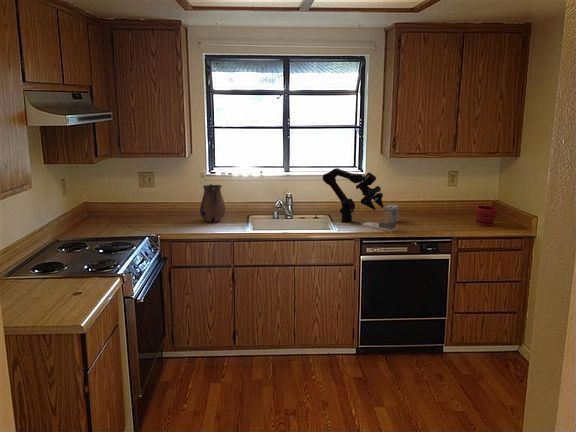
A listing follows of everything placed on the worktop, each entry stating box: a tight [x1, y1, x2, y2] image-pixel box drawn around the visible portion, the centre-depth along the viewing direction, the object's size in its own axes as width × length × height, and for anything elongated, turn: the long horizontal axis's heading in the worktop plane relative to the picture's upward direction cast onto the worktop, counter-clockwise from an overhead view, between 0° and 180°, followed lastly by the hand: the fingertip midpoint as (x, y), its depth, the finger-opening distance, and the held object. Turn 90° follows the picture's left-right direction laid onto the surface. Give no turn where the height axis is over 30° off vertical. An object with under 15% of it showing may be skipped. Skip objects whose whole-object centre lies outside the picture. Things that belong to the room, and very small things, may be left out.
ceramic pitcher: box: [199, 183, 226, 223], centre depth 344 cm, size 18×21×25 cm
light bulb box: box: [383, 204, 400, 223], centre depth 343 cm, size 11×7×11 cm, turn 143°
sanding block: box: [378, 211, 397, 229], centre depth 321 cm, size 9×6×10 cm, turn 46°
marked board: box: [361, 221, 398, 233], centre depth 326 cm, size 22×8×2 cm, turn 46°
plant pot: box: [475, 205, 498, 227], centre depth 333 cm, size 13×13×12 cm
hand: (379, 208), depth 324 cm, fingers open, 9 cm apart
